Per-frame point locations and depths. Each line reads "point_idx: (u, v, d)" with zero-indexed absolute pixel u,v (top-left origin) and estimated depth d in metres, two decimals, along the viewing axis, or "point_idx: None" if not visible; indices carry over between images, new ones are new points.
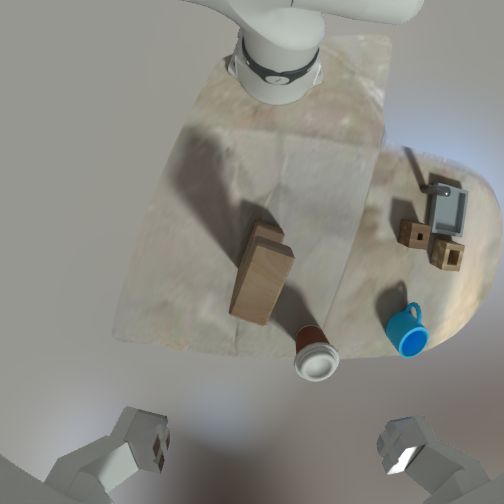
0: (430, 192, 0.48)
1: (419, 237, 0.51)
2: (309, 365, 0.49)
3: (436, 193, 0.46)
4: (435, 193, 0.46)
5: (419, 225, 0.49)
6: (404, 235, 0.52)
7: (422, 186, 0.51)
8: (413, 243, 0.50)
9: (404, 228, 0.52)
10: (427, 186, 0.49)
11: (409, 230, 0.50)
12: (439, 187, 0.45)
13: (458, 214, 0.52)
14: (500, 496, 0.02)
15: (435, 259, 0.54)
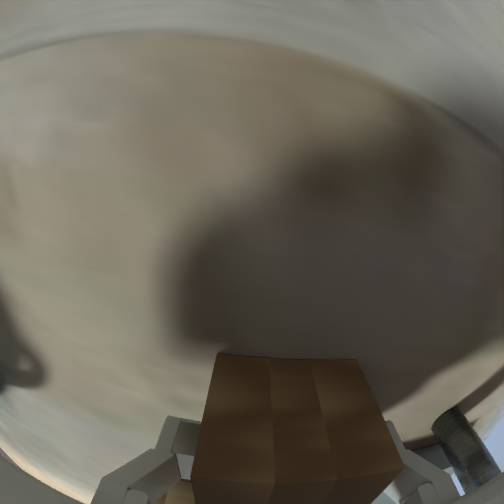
0: (473, 462, 0.07)
1: None
2: None
3: None
4: None
5: (368, 499, 0.05)
6: (277, 408, 0.07)
7: (463, 415, 0.10)
8: (236, 499, 0.05)
9: (322, 397, 0.07)
10: (479, 437, 0.08)
11: (336, 453, 0.05)
12: None
13: None
14: (500, 496, 0.02)
15: (167, 502, 0.10)
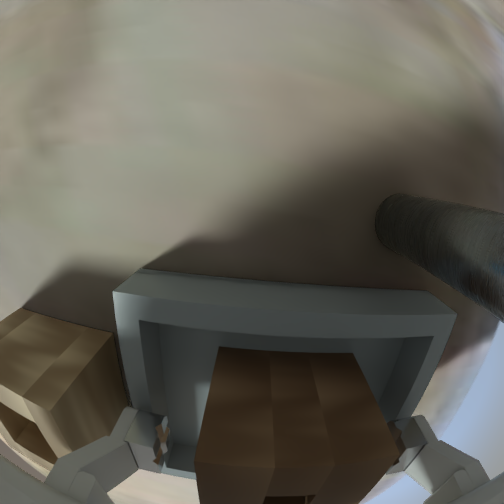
0: (456, 214, 0.05)
1: None
2: None
3: None
4: None
5: (365, 487, 0.05)
6: (276, 397, 0.07)
7: None
8: (237, 485, 0.05)
9: (320, 387, 0.08)
10: None
11: (334, 440, 0.06)
12: None
13: None
14: (500, 496, 0.02)
15: (15, 330, 0.08)
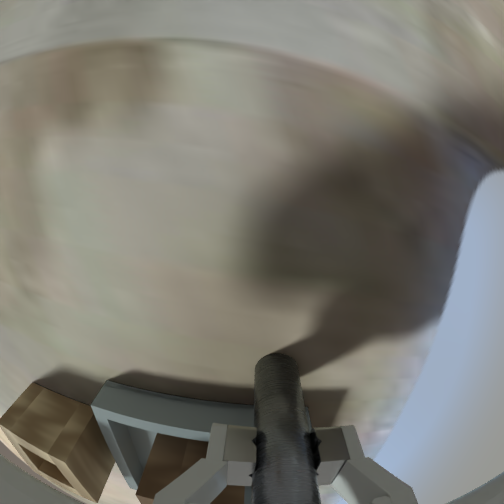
0: (264, 421, 0.08)
1: None
2: None
3: (264, 473, 0.06)
4: (263, 463, 0.07)
5: None
6: (184, 466, 0.11)
7: (288, 364, 0.11)
8: None
9: None
10: (295, 396, 0.09)
11: None
12: (311, 498, 0.05)
13: None
14: (500, 496, 0.02)
15: (33, 403, 0.12)
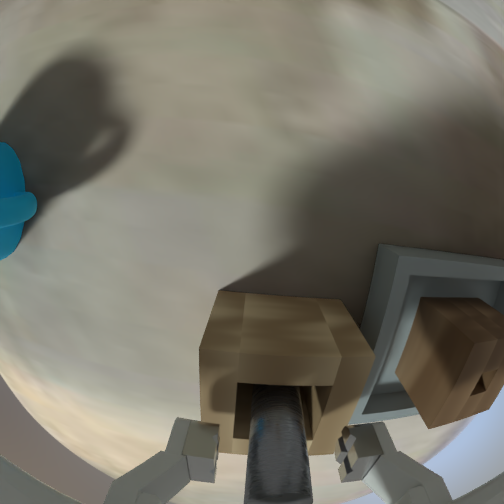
0: (261, 385, 0.10)
1: None
2: None
3: (259, 427, 0.08)
4: (259, 419, 0.08)
5: None
6: (470, 315, 0.10)
7: None
8: (478, 363, 0.08)
9: (480, 311, 0.11)
10: None
11: None
12: (299, 449, 0.07)
13: None
14: (500, 496, 0.02)
15: (247, 309, 0.12)
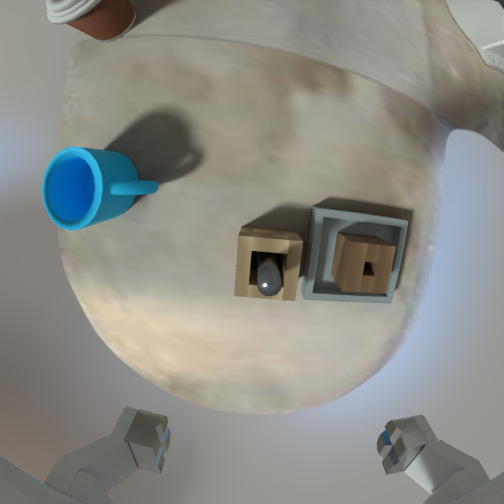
0: (261, 258, 0.28)
1: None
2: None
3: (261, 266, 0.25)
4: (261, 265, 0.26)
5: (390, 264, 0.26)
6: (360, 238, 0.28)
7: None
8: (359, 254, 0.26)
9: (370, 238, 0.28)
10: (273, 255, 0.29)
11: (378, 243, 0.26)
12: (276, 269, 0.24)
13: None
14: (500, 496, 0.02)
15: (254, 230, 0.29)
